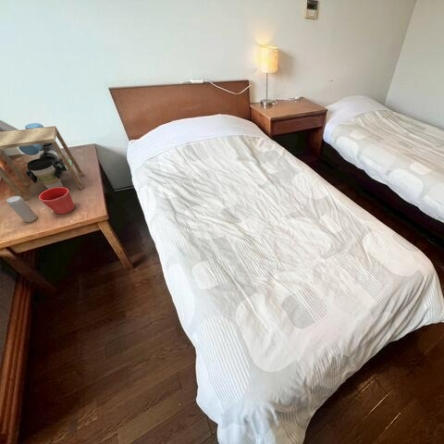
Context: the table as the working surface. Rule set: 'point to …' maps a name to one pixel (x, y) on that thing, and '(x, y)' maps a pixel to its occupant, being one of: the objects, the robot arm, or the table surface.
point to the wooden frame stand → (32, 138)
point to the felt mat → (64, 164)
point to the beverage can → (21, 208)
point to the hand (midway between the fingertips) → (45, 178)
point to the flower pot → (57, 200)
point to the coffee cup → (44, 172)
